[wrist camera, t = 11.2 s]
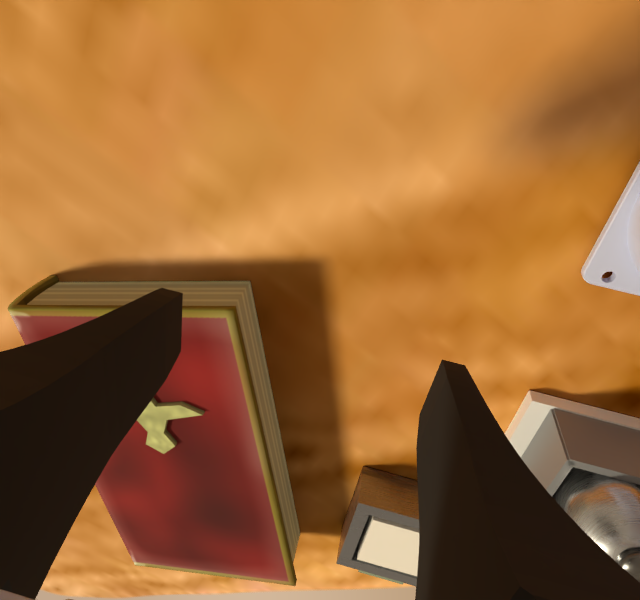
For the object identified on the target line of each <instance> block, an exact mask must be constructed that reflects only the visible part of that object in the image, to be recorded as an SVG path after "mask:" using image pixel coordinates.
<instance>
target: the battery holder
mask: <svg viewBox="0 0 640 600" xmlns="http://www.w3.org/2000/svg"><path fill="white" fill-rule="evenodd" d="M505 436H506V437H507V439H508V440H509V441H510V443H511V444H512V446H513V447H514V449H515V450H516V452H517V453H518V454H519V456H520V457H521V459H522V460H523V461H524V463H525V464H526V465H527V467H528V468H529V469H530V471H531V472H532V473H533V474H534V476H535V477H536V478H537V479H538V481H539V482H540V483H541V484H542V486H543V487H544V488H545V489H546V490H547V492H548V493H549V494H550V495H551V496H552V497H553V499H554V500H555V497H554V495H553V494H554V493H555V492H556V490H557V489H558V487H559V486H560V485H561V483H562V482H563V480H564V479H565V478H566V476H567V475H568V473H569V472H570V470H571V469H572V468H573V467H575V468H579V469H582V470H586V471H590V472H594V473H597V474H601V475H605V476H609V477H612V478H616V479H621V480H625V481H628V482H631V483H635V484H639V485H640V418H636V417H632V416H628V415H624V414H620V413H616V412H612V411H609V410H605V409H601V408H597V407H593V406H589V405H585V404H581V403H578V402H574V401H570V400H566V399H562V398H558V397H554V396H550V395H547V394H543V393H539V392H535V391H531V390H529V391H528V393H527V395H526V396H525V398H524V400H523V402H522V404H521V405H520V407H519V409H518V411H517V413H516V414H515V416H514V418H513V420H512V421H511V423H510V425H509V427H508V429H507V430H506V432H505ZM555 501H556V500H555Z"/></svg>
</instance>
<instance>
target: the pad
mask: <svg viewBox="0 0 640 600" xmlns="http://www.w3.org/2000/svg"><path fill="white" fill-rule="evenodd" d="M418 556H419V529H418V528H414V527H410V526H407V525H403V524H400V523H396V522H393V521H389V520H385V519H382V518H378V517H375V516H371V515H370V517H369V520H368V522H367V525H366V527H365V530H364V532H363V535H362V537H361V540H360V543H359V547H358V555H357V560H361V561H364V562H368V563H371V564H375V565H378V566H382V567H385V568H389V569H392V570H396V571H399V572H403V573H407V574H410V575H414V576H417V571H418Z"/></svg>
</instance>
